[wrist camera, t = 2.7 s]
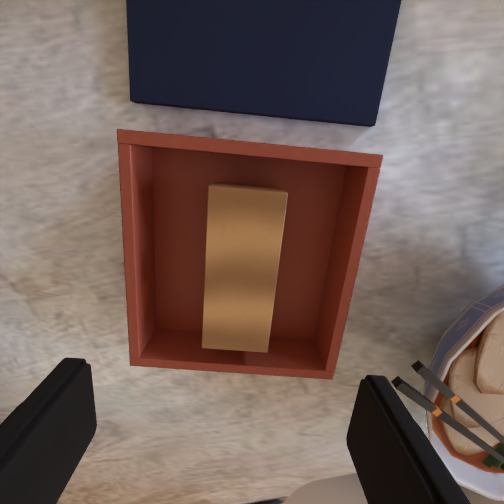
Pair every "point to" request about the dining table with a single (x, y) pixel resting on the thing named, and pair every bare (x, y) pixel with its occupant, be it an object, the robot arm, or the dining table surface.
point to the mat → (263, 56)
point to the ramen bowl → (468, 396)
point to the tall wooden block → (241, 265)
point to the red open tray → (194, 248)
